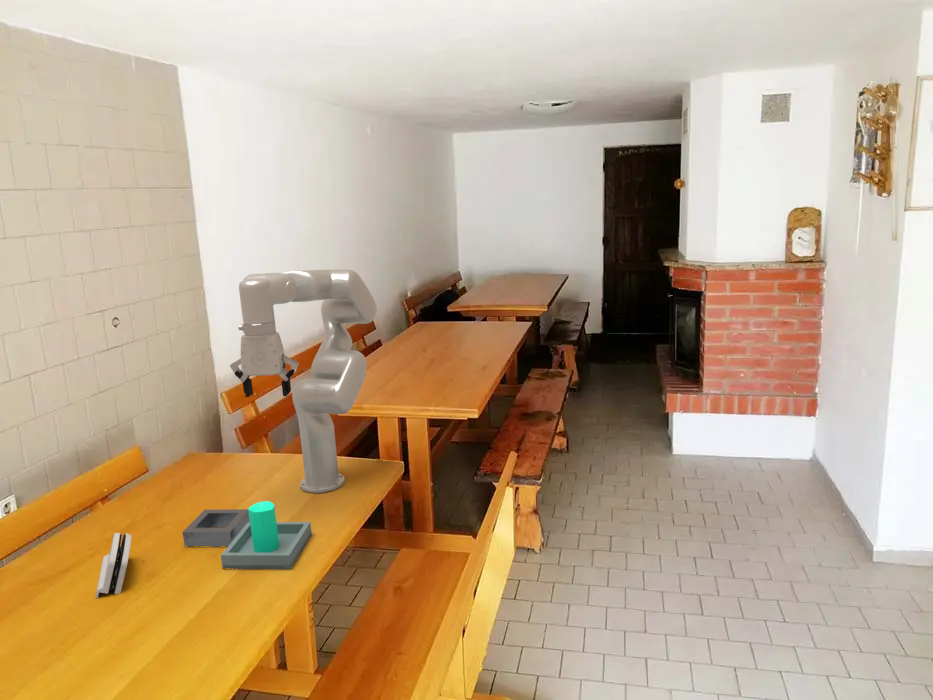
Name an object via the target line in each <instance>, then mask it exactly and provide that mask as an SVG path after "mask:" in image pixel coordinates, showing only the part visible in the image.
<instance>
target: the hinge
mask: <svg viewBox="0 0 933 700" xmlns="http://www.w3.org/2000/svg"><path fill="white" fill-rule="evenodd" d="M112 536H113V537H112V540H111V546H110V550H109V553H108V554H106V555H104V556H103V557H102V561H101V566H100V567H101V568H100V572H99V576H98V577H99V578H98V582H97V585H96V586H97V587H96V593H95V599H99V595H100V593H101V594H107V595H108V594H109V593H111V592H112V593H114V595H119V594H121V592H122V590H123V585H124V584H123V583H124V580H125V575H126V573H127V572H126V571H127V567H128V562H129V556H130V551H131V550H130V549H131V545H132V544H131V543H132V534H130V533H127V532H126V533H125V534H123V535H122V533H121V532H115V533H113V535H112ZM122 536H123V537H122Z"/></svg>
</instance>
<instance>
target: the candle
mask: <svg viewBox="0 0 933 700" xmlns="http://www.w3.org/2000/svg"><path fill="white" fill-rule="evenodd" d="M275 507H276V506H275V504H274V503H273V502H271V501H270V500H265V501H262V500H259V502H256V503H254V504H252V505H251V506H249V507H248V511H249V518H250V526H251V533H252V541H253V548H254V551H255V552H257V553H268V552H272V551H274V550H276V549H277V548H278V547H279V538H278V530H277V522H278V521H277V515H276V514H277V513H276V508H275Z"/></svg>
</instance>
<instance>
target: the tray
mask: <svg viewBox="0 0 933 700" xmlns="http://www.w3.org/2000/svg"><path fill="white" fill-rule="evenodd" d="M277 530H278V538H279V547H278V548H277V549H276V550H274V551H272V552H268V553H257V552H255V551H254V548H253V541H252V533H251V526H250V522H248V523H247V524H246V525H245V526H244V528H243V529H242V530H241V531H240V532H239V534H238V535H237V536H236V537H235V539H234V540H233V541H232V542H231V543H230V545H229V546H228V547H225V549H224V551H222V553H221V554H220V560H221V567H222V569H223V568H231V569H230V570H292V568H293V566H294V565H295V563H296V561H297V560H298V558H299V557H300V555H301V554H302V552H303V550H304V548H305V546H306V545H307V544H308V542H309V540H310V539H311V536H313V533H312V523H311V521H277ZM232 568H234V569H232ZM236 568H237V569H236Z"/></svg>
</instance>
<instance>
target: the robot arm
mask: <svg viewBox="0 0 933 700" xmlns="http://www.w3.org/2000/svg"><path fill="white" fill-rule="evenodd" d="M238 291H239V299H240V307H241V308H240V309H241V314H242V315H241V318H242V324H239V325H238V330H239V331H242V332H243V334H242V335H241V337H240V358H239V359H238V360H236V361H234V362H233V363H231V364H230V365H229V366H230V369H231V370H232V372H233V373H234V375H235V377H237V378H238V379H239V381H240V382H241V383H242V389H243V394H245V398H250V397H251V396H252V395H253V394H254V391H253V390H254V389H253V383H252V379H251V378H250V377H253V376H258V377H259V376H260V377H261V376H276V375H278V376H279V377H280V378H281V392H282V396H283V397H287V396H288V395H290V393H292V394H291V398H292V402H293V403H292V404H293V406H294V410H295V412H296V415H297V421H298V425H299V428H298V429H299V434H300V444H301V452H302V461H303V469H304V478H302V480H300V483H299V485H300V489H301V490H302V491H304V492H307V493H313V494H320V493H327V492H331V491H335V490H336V489H337V490H338V489H339V488H341V487H342V486H343V485H344V484H345V476H344V475H343V474H341V473H340V472H339V466H338V463H339V462H338V455H337V445H336V433H335V425H334V422H333V419H332V418H331V416H330V415H344V414H347V413H348V412H350V410H351V409H352V408H353V406H354V404H355V402H356V400H357V397H358V396H359V395H358V394H359V392H360V391H361V387H362V385H363V384H364V381H365V377H366V374H367V369H368V368H367V367H368V366H367V365H368V363H367V359H366V357H365V355H364V354H363V353H362V352H360V351H358V350H353V349H352V346H353V339H352V337H351V334H350V333H349V331H348V330H347V329H346V326H345V324H350V325H351V324H352V325H353V324H355V325H356V324H357V325H358V324H359V325H361V324H362V325H363V324H364V325H366V324H370V323H372V321H374V320H375V318H376V316H377V309H378V308H377V304H376V301H375V299H374V297H373V294H372V293H371V291H370V290H369V288H368V286H367V285H366V282H364V280H363V279H362V277H361V276H360V275H359V274H358V273H357V272H356V271H355V270H353V269H309V270H306V269H305V270H304V269H303V270H292V271H291V270H290V271H283V272H270V273H269V272H268V273H267V272H266V273H250V274H248V275H246V276H245V277H244V278H243V280H241V281H240V282H239V283H238ZM322 300H323V301H322ZM314 301H322V303H321V307H320V313H321V316H322V317H321V318H322V323H323V327H324V336H323V340H322V341H321V344H320V347H319V348H318V351H317V352H316V354H315V356H314V359H313V361H312V364H311V367H310V371H311V372H310V373H311V374H312V376H313V377H311V378H310V377H309V378H308V377H307V378H304V379H303V378H302V379H301V380H299V381H297V382H296V383H295V384H294V385H293V388H292V386H291V378H292V377H293V376H294V375H295V373H296V372H297V369H298V367H299V365H300V364H299V361H297V360H295V359H293V358H291V357H289V356H286V355H285V350H284V346H283V342H282V339H281V336H280V333H279V332H277V328H276V327H277V326H276V318H275V312H274V311H275V309H274V305H283V304H288V303H290V302H291V303H305V302H306V303H307V302H314ZM287 364H288V365H289V366H290V369H289V371H288V370H287ZM240 365H241V366H240ZM239 366H240V367H241V369H240V368H239ZM291 391H292V392H291Z"/></svg>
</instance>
